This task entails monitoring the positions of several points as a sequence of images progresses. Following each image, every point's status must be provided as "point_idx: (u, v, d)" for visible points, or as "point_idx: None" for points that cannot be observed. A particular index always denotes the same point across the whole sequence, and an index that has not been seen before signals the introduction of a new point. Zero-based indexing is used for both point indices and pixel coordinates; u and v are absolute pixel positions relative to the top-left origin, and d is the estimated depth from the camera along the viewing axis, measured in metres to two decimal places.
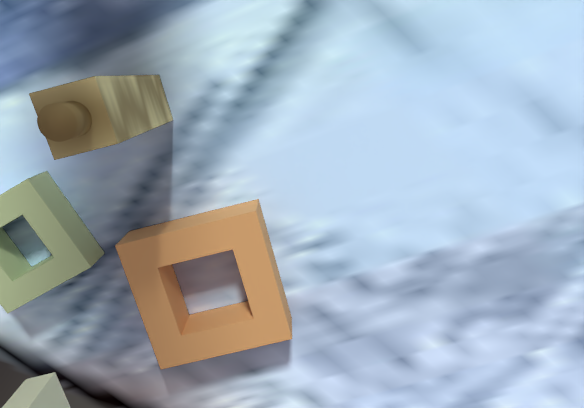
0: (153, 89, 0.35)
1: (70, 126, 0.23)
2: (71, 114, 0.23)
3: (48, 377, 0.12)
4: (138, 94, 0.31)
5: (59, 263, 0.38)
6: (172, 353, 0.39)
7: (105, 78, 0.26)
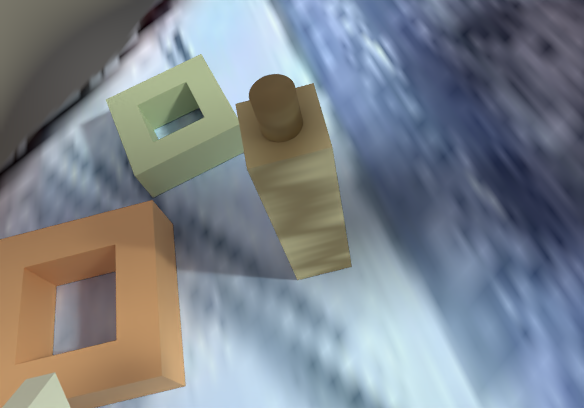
0: (331, 252, 0.28)
1: (266, 105, 0.18)
2: (280, 106, 0.18)
3: (48, 377, 0.12)
4: (320, 223, 0.25)
5: (146, 146, 0.34)
6: (5, 255, 0.31)
7: (332, 167, 0.21)
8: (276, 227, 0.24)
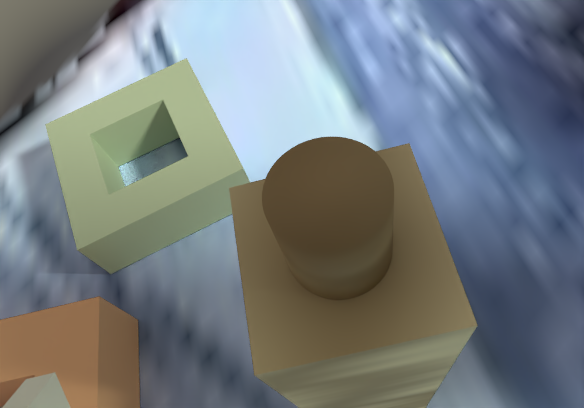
0: None
1: (311, 233, 0.06)
2: (354, 241, 0.06)
3: (48, 377, 0.12)
4: (393, 396, 0.13)
5: (98, 200, 0.22)
6: None
7: (456, 347, 0.09)
8: None
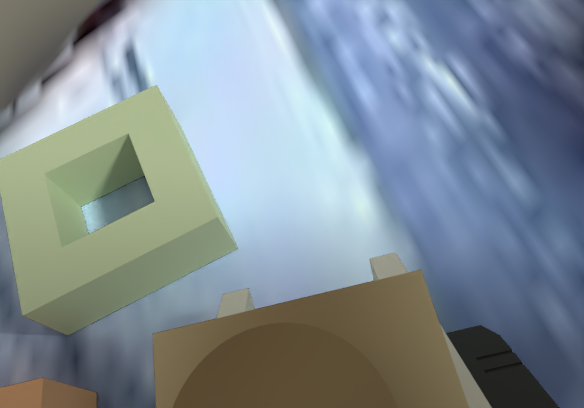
0: None
1: None
2: None
3: (245, 291, 0.14)
4: None
5: (49, 254, 0.19)
6: None
7: None
8: None
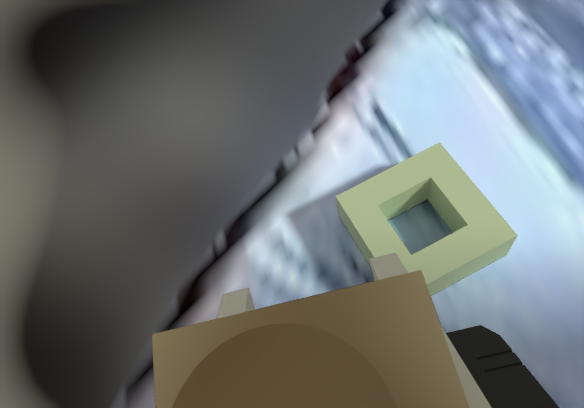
0: None
1: None
2: None
3: (245, 291, 0.14)
4: None
5: (403, 259, 0.30)
6: None
7: None
8: None
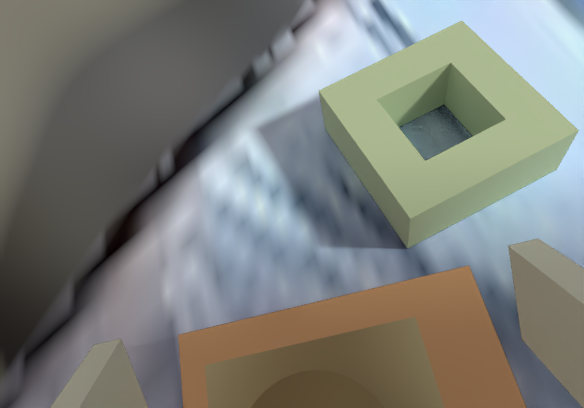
0: None
1: None
2: None
3: (116, 342, 0.13)
4: None
5: (413, 167, 0.21)
6: (211, 363, 0.18)
7: None
8: None
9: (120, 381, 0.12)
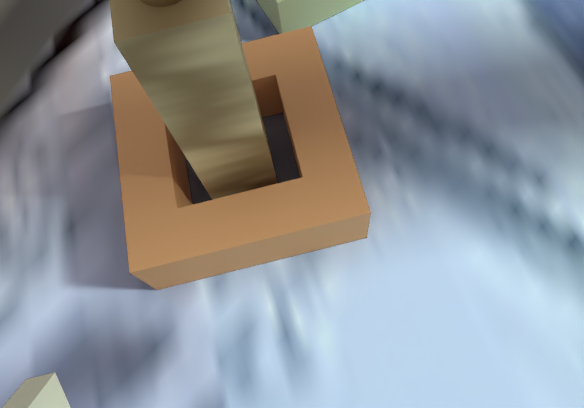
0: (253, 172, 0.24)
1: None
2: None
3: (48, 377, 0.12)
4: (233, 132, 0.20)
5: None
6: (133, 90, 0.25)
7: (234, 46, 0.16)
8: (175, 135, 0.19)
9: None
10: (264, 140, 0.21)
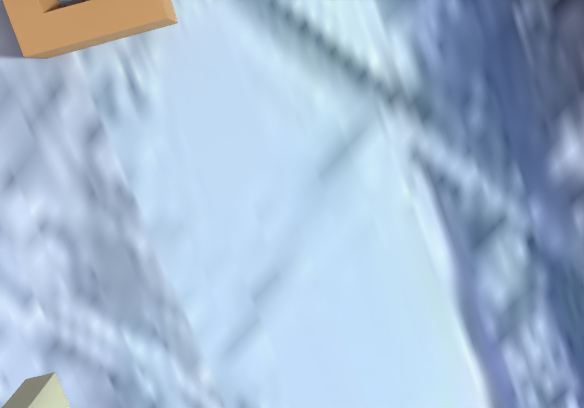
0: None
1: None
2: None
3: (48, 377, 0.12)
4: None
5: None
6: None
7: None
8: None
9: None
10: None
